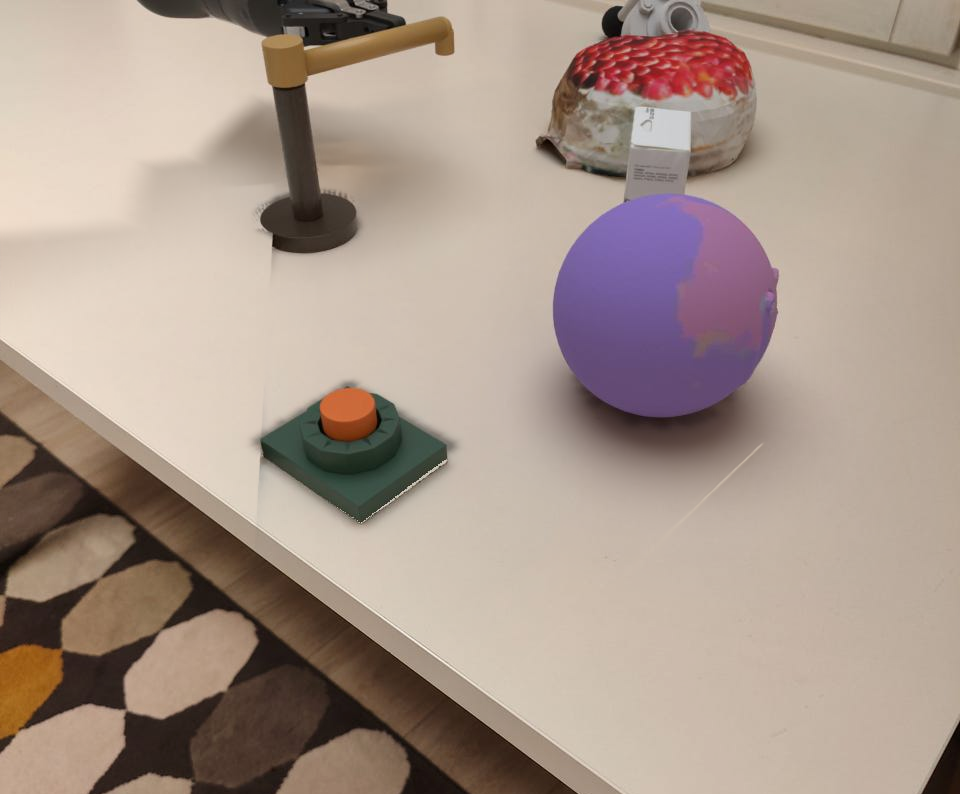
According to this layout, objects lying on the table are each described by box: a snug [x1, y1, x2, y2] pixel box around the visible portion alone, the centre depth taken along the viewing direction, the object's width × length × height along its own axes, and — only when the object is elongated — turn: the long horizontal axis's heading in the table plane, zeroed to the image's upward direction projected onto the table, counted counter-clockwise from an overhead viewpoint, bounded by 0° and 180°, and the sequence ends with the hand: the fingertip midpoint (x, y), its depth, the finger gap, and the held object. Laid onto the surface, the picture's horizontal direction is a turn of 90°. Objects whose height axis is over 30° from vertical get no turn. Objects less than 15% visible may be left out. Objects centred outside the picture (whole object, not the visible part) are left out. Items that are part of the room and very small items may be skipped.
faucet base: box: [259, 82, 359, 254], centre depth 85 cm, size 9×9×14 cm
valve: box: [601, 0, 711, 39], centre depth 119 cm, size 10×20×15 cm
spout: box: [261, 16, 456, 88], centre depth 83 cm, size 19×3×4 cm, turn 127°
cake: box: [535, 30, 758, 179], centre depth 101 cm, size 23×24×10 cm
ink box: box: [623, 107, 691, 203], centre depth 81 cm, size 8×5×12 cm, turn 170°
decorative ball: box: [552, 194, 780, 418], centre depth 65 cm, size 15×15×15 cm
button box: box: [259, 385, 448, 524], centre depth 64 cm, size 10×8×4 cm
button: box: [320, 387, 377, 442], centre depth 62 cm, size 4×4×2 cm
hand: (401, 32), depth 86 cm, fingers closed
